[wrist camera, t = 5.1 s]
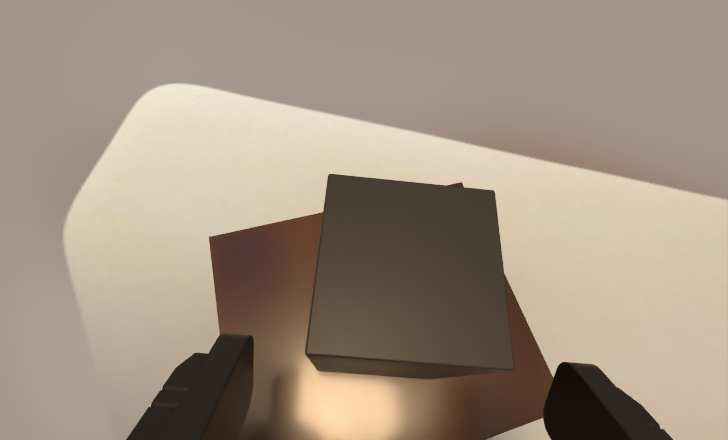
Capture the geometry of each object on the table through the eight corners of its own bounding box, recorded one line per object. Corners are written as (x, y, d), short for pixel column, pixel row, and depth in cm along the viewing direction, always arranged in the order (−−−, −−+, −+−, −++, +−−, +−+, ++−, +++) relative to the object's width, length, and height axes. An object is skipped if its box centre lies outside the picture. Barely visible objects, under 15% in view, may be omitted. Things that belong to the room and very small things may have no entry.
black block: (430, 379, 15) (516, 371, 8) (317, 370, 15) (304, 354, 8) (428, 270, 18) (495, 189, 10) (329, 261, 17) (328, 173, 10)
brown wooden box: (265, 495, 17) (242, 532, 13) (233, 268, 22) (208, 237, 17) (514, 404, 20) (567, 408, 15) (438, 219, 25) (461, 182, 20)
